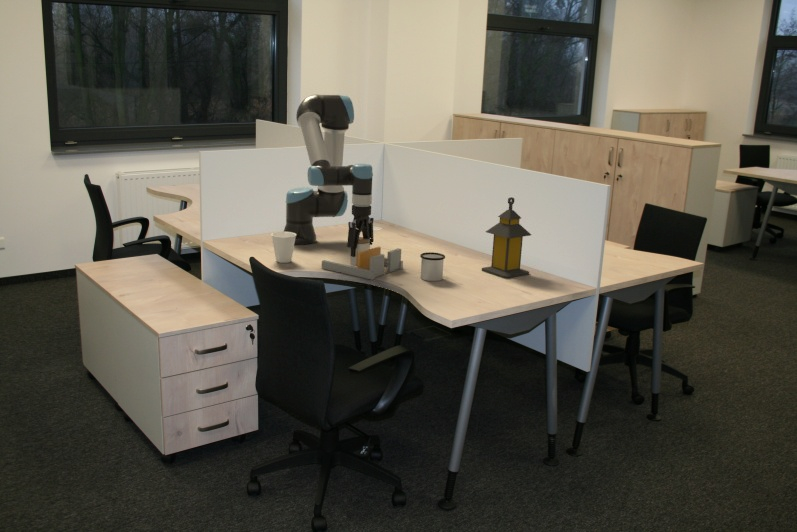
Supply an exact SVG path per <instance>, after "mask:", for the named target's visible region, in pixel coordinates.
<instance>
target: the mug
mask: <svg viewBox="0 0 797 532" xmlns="http://www.w3.org/2000/svg"><path fill="white" fill-rule="evenodd" d="M419 257H420V258H421V263H420V264H421V265H420V279H421V280H423V281H427V282H439V281H441V280H443V277H444V275H443V274H444V260H445V258H446V255H445V254H443V253H439V252H433V251H432V252H431V251H429V252H423V253H421V254H420V255H419Z"/></svg>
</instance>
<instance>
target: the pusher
mask: <svg viewBox="0 0 797 532" xmlns="http://www.w3.org/2000/svg"><path fill="white" fill-rule="evenodd" d="M381 249H382V247H381V246H376V247H373V248H370V249H369V250H366V251H363V252H360V253H358V255H357V266H356V267H358V268H363V269H367V270H369V268H370V257H373V256H376V255H379V254H382V253H381V251H382V250H381ZM384 263H385V264H388V261H384Z"/></svg>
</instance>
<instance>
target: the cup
mask: <svg viewBox="0 0 797 532" xmlns="http://www.w3.org/2000/svg"><path fill="white" fill-rule="evenodd" d="M270 235H271V238H272V244H273V250H274V256H275V261H276V262H277V263H282V264H285V263H286V264H287V263H290V262H292V261H293V253H294V249H295V248H294V247H295V244H294V243H295V237H296V234H295V233H292V232H284V231H276V232H272V233H271V234H270Z"/></svg>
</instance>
